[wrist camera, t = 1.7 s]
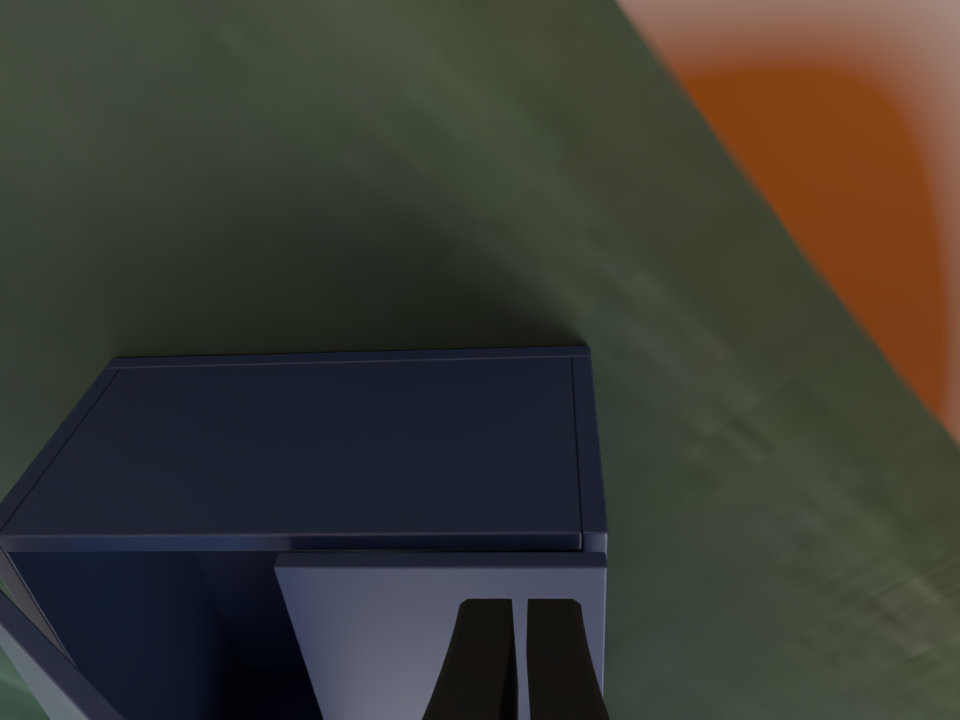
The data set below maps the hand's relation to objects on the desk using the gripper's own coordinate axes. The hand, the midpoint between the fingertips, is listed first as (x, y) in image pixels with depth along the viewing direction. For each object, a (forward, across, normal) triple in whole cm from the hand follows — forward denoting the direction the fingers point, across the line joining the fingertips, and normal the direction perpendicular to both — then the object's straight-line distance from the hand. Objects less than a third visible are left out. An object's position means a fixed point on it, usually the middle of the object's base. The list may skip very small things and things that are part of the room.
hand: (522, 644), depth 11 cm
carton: (+10, +5, +9) cm, 15 cm away
